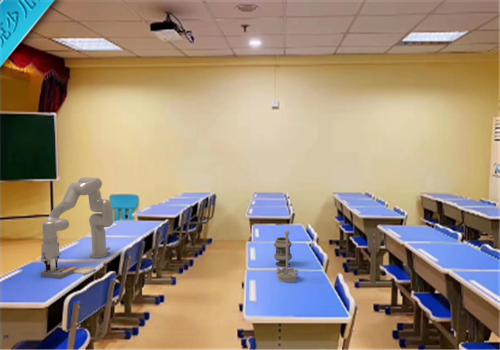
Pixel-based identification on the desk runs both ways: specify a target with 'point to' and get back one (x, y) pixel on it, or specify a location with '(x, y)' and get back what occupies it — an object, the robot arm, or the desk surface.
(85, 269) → the tray
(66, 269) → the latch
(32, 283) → the desk surface
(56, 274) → the grey holder base
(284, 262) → the apothecary jar
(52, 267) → the cylinder
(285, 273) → the flag stand
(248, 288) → the desk surface
